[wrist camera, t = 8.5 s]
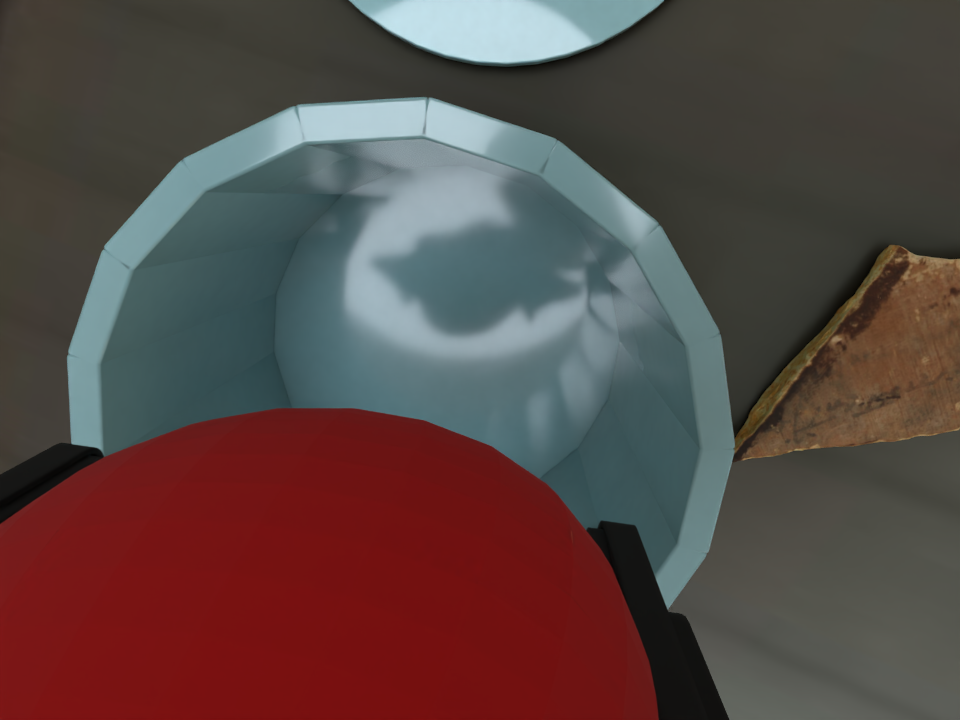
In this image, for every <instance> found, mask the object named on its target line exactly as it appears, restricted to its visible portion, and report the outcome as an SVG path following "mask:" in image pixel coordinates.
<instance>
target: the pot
mask: <svg viewBox="0 0 960 720" xmlns="http://www.w3.org/2000/svg"><path fill="white" fill-rule="evenodd" d="M104 248H105V249H104V250H103V251H102V252H101V255H100V258H99V261H98V264H97V267H96V270H95V273H94V276H93V279H92V282H91V285H90V288H89V291H88V294H87V297H86V300H85V303H84V305H83V308H82V311H81V314H80V317H79V320H78V323H77V326H76V329H75V332H74V335H73V338H72V341H71V344H70V347H69V350H68V354H69V355H68V356H67V368H68V387H69V407H70V426H71V444H74V445H81V446H88V447H95V448H98V449H100V450H101V451H102V453H103V455H104V457H106V456H108V455H111V454H113V453H116V452H118V451H121V450H123V449H126V448H128V447H131V446H133V445H136V444H139V443H142V442H144V441H147V440H150V439H152V438H155V437H158V436H160V435H163V434H166V433H169V432H171V431H174V430H177V429H179V428H182V427H185V426H187V425H190V424H194V423H198V422H203V421H207V420H212V419H218V418H224V417H229V416H235V415H241V414H247V413H253V412H259V411H264V410H270V409H276V408H356V409H362V410H368V411H374V412H380V413H385V414H391V415H397V416H403V417H409V418H414V419H420V420H425V421H427V422H430V423H433V424H435V425H438V426H440V427H443V428H446V429H448V430H451V431H454V432H456V433H459V434H461V435H464V436H467V437H469V438H472V439H474V440H477V441H480V442H482V443H485V444H487V445H490V446H492V447H494V448H495V449H497V450H498V451H499V452H501V453H502V454H504V455H505V456H507V457H508V458H510V459H511V460H513V461H514V462H515V463H517V464H518V465H520V466H521V467H523V468H524V469H526V470H527V471H529V472H530V473H531V474H533V475H534V476H536V477H537V478H539V479H540V480H542V481H543V482H545V483H546V484H547V485H548V486H549V487H550V488H552V489H553V490H554V491H555V492H556V493H557V494H558V496H559V497H560V498H561V499H562V501H563V502H564V503H565V505H566V506H567V507H568V508H569V510H570V511H571V512H572V513H573V515H574V516H575V517H576V518H577V520H578V521H579V522H580V523H581V525H582V526H583V527H584V528H585V530H587V528H588V527H590V528H598V525H599V523H600V521H601V520H603V521H610V522H617V523H624V524H631V525H635V526H636V527H637V530H638V532H639V535H640V538H641V540H642V543H643V546H644V548H645V551H646V554H647V556H648V559H649V562H650V564H651V567H652V570H653V572H654V575H655V578H656V580H657V583H658V586H659V588H660V591H661V594H662V597H663V599H664V602H665V605H666V607H667V610H668V609H669V607H670V606H671V604H672V603H673V602H674V600H675V599H676V597H677V596H678V595H679V593H680V592H681V590H682V589H683V588H684V586H685V585H686V584H687V582H688V581H689V579H690V578H691V577H692V575H693V574H694V572H695V571H696V570H697V568H698V567H699V565H700V564H701V563H702V561H703V560H704V559H705V557H706V553H708V552H709V548H710V544H711V541H712V537H713V533H714V529H715V525H716V521H717V518H718V514H719V510H720V506H721V502H722V498H723V495H724V491H725V487H726V483H727V479H728V475H729V472H730V468H731V464H732V460H733V456H734V452H735V450H734V448H735V439H734V432H733V424H732V416H731V408H730V400H729V392H728V384H727V377H726V369H725V361H724V353H723V345H722V337H721V335H720V334H719V333H720V332H719V328H718V327H717V325H716V323H715V321H714V319H713V318H712V316H711V314H710V312H709V310H708V309H707V307H706V305H705V303H704V301H703V300H702V298H701V296H700V294H699V292H698V291H697V289H696V287H695V285H694V283H693V282H692V280H691V278H690V276H689V274H688V273H687V271H686V269H685V267H684V265H683V264H682V262H681V260H680V258H679V256H678V255H677V253H676V251H675V249H674V247H673V246H672V244H671V242H670V240H669V238H668V237H667V235H666V233H665V231H664V230H663V228H662V226H660V225H659V223H658V221H657V220H655V219H654V218H653V217H652V216H651V215H649V214H648V213H647V212H646V211H644V210H643V209H642V208H641V207H640V206H638V205H637V204H636V203H635V202H634V201H632V200H631V199H630V198H629V197H627V196H626V195H625V194H624V193H623V192H621V191H620V190H619V189H618V188H617V187H615V186H614V185H613V184H612V183H610V182H609V181H608V180H607V179H606V178H604V177H603V176H602V175H601V174H600V173H598V172H597V171H596V170H595V169H593V168H592V167H591V166H590V165H589V164H587V163H586V162H585V161H584V160H582V159H581V158H580V157H579V156H578V155H576V154H575V153H574V152H573V151H572V150H570V149H569V148H568V147H567V146H565V145H564V144H563V143H562V142H561V141H557V140H556V139H555V138H553V137H550V136H547V135H544V134H541V133H538V132H535V131H532V130H529V129H526V128H523V127H520V126H517V125H513V124H510V123H507V122H504V121H501V120H498V119H495V118H492V117H489V116H486V115H483V114H480V113H477V112H474V111H471V110H468V109H465V108H462V107H459V106H456V105H453V104H450V103H447V102H444V101H441V100H438V99H435V98H432V97H431V98H429V99H428V98H426V97H414V98H397V99H379V100H362V101H344V102H326V103H309V104H299V105H297V107H296V106H291V107H289V108H287V109H285V110H283V111H281V112H279V113H277V114H275V115H272V116H270V117H268V118H266V119H264V120H262V121H260V122H258V123H256V124H254V125H252V126H249V127H247V128H245V129H243V130H241V131H239V132H237V133H235V134H233V135H231V136H229V137H226V138H224V139H222V140H220V141H218V142H216V143H214V144H212V145H210V146H208V147H206V148H203V149H201V150H199V151H197V152H195V153H193V154H191V155H189V156H187V157H185V158H184V159H183V160H182V161H179V162H178V164H177V165H176V166H175V167H174V168H173V169H172V170H171V171H170V173H169V174H168V175H167V176H166V177H165V178H164V179H163V180H162V182H161V183H160V184H159V185H158V186H157V187H156V188H155V190H154V191H153V192H152V193H151V194H150V195H149V196H148V197H147V199H146V200H145V201H144V202H143V203H142V204H141V205H140V206H139V208H138V209H137V210H136V211H135V212H134V213H133V214H132V216H131V217H130V218H129V219H128V220H127V221H126V222H125V223H124V225H123V226H122V227H121V228H120V229H119V230H118V231H117V232H116V234H115V235H114V236H113V237H112V238H111V239H110V240H109V242H108V243H107V244H106V245H105V246H104Z"/></svg>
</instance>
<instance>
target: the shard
mask: <svg viewBox="0 0 960 720" xmlns="http://www.w3.org/2000/svg"><path fill="white" fill-rule="evenodd" d="M959 429H960V259H950V260H949V259H943V258H933V257H927V256H919V255H915V254H913V253H911V252H909V251H908V250H907V249H905V248H903V247H901V246H898V245H889V247H887V248H885V249H884V251H883V252H882V253H881V254H880V255H879V256H878V257H877V259H876V262H875V264H874V266H873V267H872V269H871V271H870V273H869V275H868V276H867V277H866V278H865V280H864V281H863V283H862V284H861V286H860V287H859V288H858V290H857V291H856V293H855V294H854V296H852V297H851V298H850V299H848V300H847V301H846V302H845V304H844V305H843V306H841V307H840V308H839V309H838V310H837V312H836V314H835V315H834V316H833V318H832V319H831V320H830V321H829V323H828V324H827V325H826V326H825V328H824V329H823V330H822V331H821V332H820V333H819V334H818V335H817V336H816V337H815V338H814V339H813V340H812V341H811V342H809V343H808V344H807V345H806V346H805V348H804V349H803V350H802V351H801V352H800V353H799V354H798V355H797V356H796V357H795V358H794V359H793V360H792V361H791V362H790V363H789V365H788V366H787V367H785V368H784V370H783V371H782V372H781V373H780V375H779V376H778V377H777V378H776V379H775V381H774V382H773V383H772V384H771V385H770V386H769V387H768V388H767V389H766V391H765V392H764V393H763V395H762V396H761V397H760V399H759V401H758V402H757V403H756V405H755V406H754V407H753V408H752V410H751V411H750V414H749V417H748V419H747V421H746V422H745V424H744V426H743V427H742V428H741V430H740V431H739V433H738V434H737V436H736V437H735V448H734V450H735V452H734V456H733V460H732V462H736V461H740V460H746V459H750V458H762V457H768V456H776V455H780V454H784V453H788V452H791V451H795V450H805V449H815V448H825V447H835V446H837V447H845V446H857V445H863V444H869V443H876V442H892V441H899V440H905V439H910V438H912V437H916V436H931V435H936V434H940V433H944V432H950V431H955V430H959Z"/></svg>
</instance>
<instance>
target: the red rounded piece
mask: <svg viewBox="0 0 960 720" xmlns="http://www.w3.org/2000/svg"><path fill="white" fill-rule="evenodd" d="M0 720H659V718H658V708H657V699H656V693H655V688H654V683H653V678H652V673H651V668H650V663H649V660H648V657H647V654H646V652H645V649H644V646H643V644H642V641H641V638H640V635H639V633H638V630H637V628H636V625H635V623H634V620H633V618H632V616H631V613H630V611H629V608H628V606H627V603H626V601H625V598H624V596H623V593H622V591H621V589H620V586H619V584H618V581H617V579H616V576H615V574H614V571H613V569H612V567H611V565H610V564H609V562H608V560H607V559H606V557H605V555H604V554H603V552H602V550H601V549H600V547H599V546H598V545H597V544H596V542H595V541H594V540H593V539H592V537H591V536H590V535H589V533H588V532H587V531H586V530H585V528H584V527H583V526H582V525H581V523H580V522H579V521H578V520H577V518H576V517H575V516H574V515H573V513H572V512H571V511H570V510H569V508H568V507H567V506H566V505H565V503H564V502H563V501H562V499H561V498H560V497H559V496H558V494H557V493H556V492H555V491H554V490H553V489H552V488H550V487H549V486H548V485H547V484H546V483H545V482H543V481H542V480H540V479H539V478H537V477H536V476H534V475H533V474H531V473H530V472H529V471H527V470H526V469H524V468H523V467H521V466H520V465H518V464H517V463H515V462H514V461H513V460H511V459H510V458H508V457H507V456H505V455H504V454H502V453H501V452H499V451H498V450H497V449H495V448H494V447H492V446H490V445H487V444H485V443H482V442H480V441H477V440H474V439H472V438H469V437H467V436H464V435H461V434H459V433H456V432H454V431H451V430H448V429H446V428H443V427H440V426H438V425H435V424H433V423H430V422H427V421H425V420H420V419H414V418H409V417H403V416H397V415H391V414H385V413H380V412H374V411H368V410H362V409H356V408H276V409H270V410H264V411H259V412H253V413H247V414H241V415H235V416H229V417H224V418H218V419H212V420H207V421H203V422H198V423H194V424H190V425H187V426H185V427H182V428H179V429H177V430H174V431H171V432H169V433H166V434H163V435H160V436H158V437H155V438H152V439H150V440H147V441H144V442H142V443H139V444H136V445H133V446H131V447H128V448H126V449H123V450H121V451H118V452H116V453H113V454H111V455H108V456H106V457H104V458H102V459H100V460H98V461H96V462H95V463H93V464H91V465H89V466H87V467H85V468H83V469H82V470H80V471H78V472H77V473H75V474H74V475H72V476H71V477H69V478H68V479H66V480H64V481H63V482H61V483H60V484H58V485H57V486H55V487H54V488H52V489H51V490H49V491H48V492H46V493H45V494H43V495H42V496H40V497H39V498H37V499H36V500H34V501H33V502H31V503H30V504H28V505H27V506H25V507H24V508H22V509H21V510H20V511H18V512H17V513H15V514H14V515H12V516H11V517H10V518H8V519H7V520H5V521H4V522H2V523H1V524H0Z"/></svg>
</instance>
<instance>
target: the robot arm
mask: <svg viewBox="0 0 960 720" xmlns="http://www.w3.org/2000/svg"><path fill="white" fill-rule="evenodd" d="M102 458H104V455H103V453H102V451H101V450H100V449H98V448H95V447H88V446H81V445H74V444H67V443H59V444H56V445H54V446H52V447H51V448H49V449H47V450H45V451H43V452H41V453H40V454H38V455H36V456H34V457H32V458H30V459H28V460H27V461H25V462H23V463H21V464H19V465H17V466H16V467H14V468H12V469H10V470H8V471H6V472H4V473H3V474H1V475H0V524H1V523H2V522H4V521H5V520H7V519H8V518H10V517H11V516H12V515H14V514H15V513H17V512H18V511H20V510H21V509H22V508H24V507H25V506H27V505H28V504H30V503H31V502H33V501H34V500H36V499H37V498H39V497H40V496H42V495H43V494H45V493H46V492H48V491H49V490H51V489H52V488H54V487H55V486H57V485H58V484H60V483H61V482H63V481H64V480H66V479H68V478H69V477H71V476H72V475H74V474H75V473H77V472H78V471H80V470H82V469H83V468H85V467H87V466H89V465H91V464H93V463H95V462H96V461H98V460H100V459H102ZM586 531H587V532H588V533H589V535H590V536H591V537H592V539H593V540H594V541H595V542H596V544H597V545H598V546H599V547H600V549H601V550H602V552H603V554H604V555H605V557H606V559H607V560H608V562H609V564H610V565H611V567H612V569H613V571H614V574H615V576H616V579H617V581H618V584H619V586H620V589H621V591H622V593H623V596H624V598H625V601H626V603H627V606H628V608H629V611H630V613H631V616H632V618H633V620H634V623H635V625H636V628H637V630H638V633H639V635H640V638H641V641H642V644H643V646H644V649H645V652H646V654H647V657H648V660H649V663H650V668H651V673H652V678H653V683H654V688H655V693H656V699H657V708H658V718H659V720H729V718H728V715H727V713H726V711H725V708H724V706H723V703H722V701H721V698H720V696H719V694H718V691H717V689H716V686H715V684H714V681H713V679H712V677H711V674H710V672H709V669H708V667H707V665H706V662H705V660H704V657H703V655H702V652H701V650H700V648H699V645H698V643H697V640H696V638H695V636H694V633H693V631H692V628H691V626H690V623H689V622H688V620H687V618H686V617H685V616H684V615H682V614H679V613H672V612H668V610H667V607H666V605H665V602H664V599H663V597H662V594H661V591H660V588H659V586H658V583H657V580H656V578H655V575H654V572H653V570H652V567H651V564H650V562H649V559H648V556H647V554H646V551H645V548H644V546H643V543H642V540H641V538H640V535H639V532H638V530H637V527H636V526H635V525H631V524H624V523H617V522H610V521H603V520H601V521H600V523H599V525H598V528H590V527H588V528H587V530H586Z"/></svg>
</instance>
